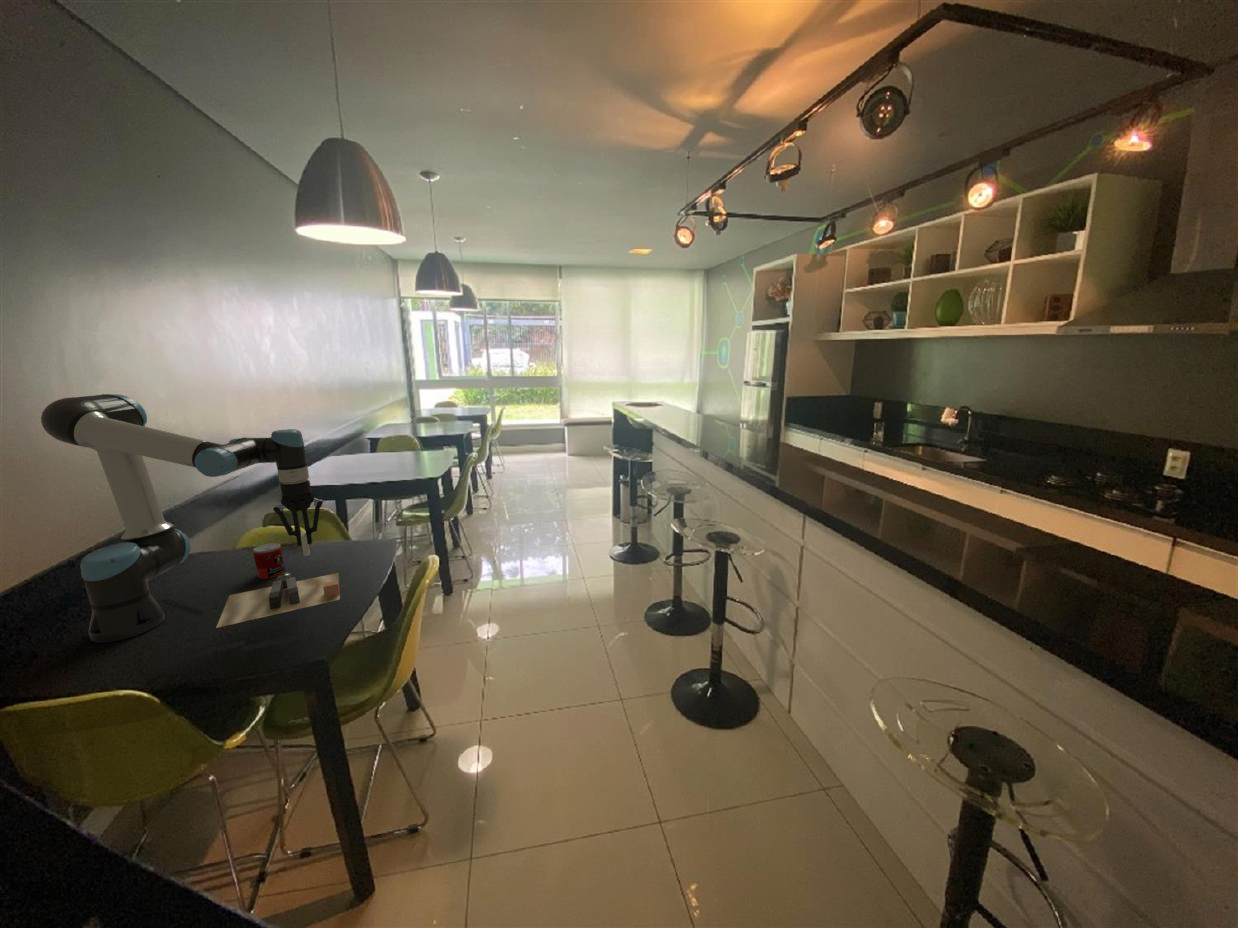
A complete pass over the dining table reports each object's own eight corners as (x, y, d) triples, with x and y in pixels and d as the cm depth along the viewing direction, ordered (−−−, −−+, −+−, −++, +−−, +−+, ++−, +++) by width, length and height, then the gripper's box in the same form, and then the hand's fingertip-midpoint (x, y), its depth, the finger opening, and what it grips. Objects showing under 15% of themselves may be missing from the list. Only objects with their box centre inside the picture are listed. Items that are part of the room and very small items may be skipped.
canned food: (272, 582, 164) (266, 552, 161) (252, 580, 166) (246, 550, 163) (291, 572, 171) (286, 543, 169) (272, 571, 173) (266, 542, 170)
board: (216, 631, 135) (216, 627, 135) (230, 598, 153) (229, 595, 153) (340, 602, 150) (339, 599, 149) (339, 575, 168) (338, 572, 168)
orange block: (324, 597, 151) (323, 587, 150) (324, 593, 153) (323, 583, 152) (339, 594, 153) (338, 583, 152) (339, 590, 155) (337, 580, 154)
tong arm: (287, 588, 157) (286, 578, 156) (297, 586, 158) (295, 576, 157) (290, 604, 146) (288, 594, 146) (300, 602, 148) (298, 591, 147)
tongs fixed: (276, 585, 159) (273, 574, 158) (292, 582, 161) (291, 571, 160) (270, 609, 144) (268, 597, 143) (289, 605, 146) (287, 593, 145)
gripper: (267, 487, 140) (280, 563, 145) (319, 480, 146) (331, 553, 151) (269, 481, 146) (282, 554, 151) (320, 475, 152) (330, 546, 158)
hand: (306, 554), depth 151 cm, fingers closed
